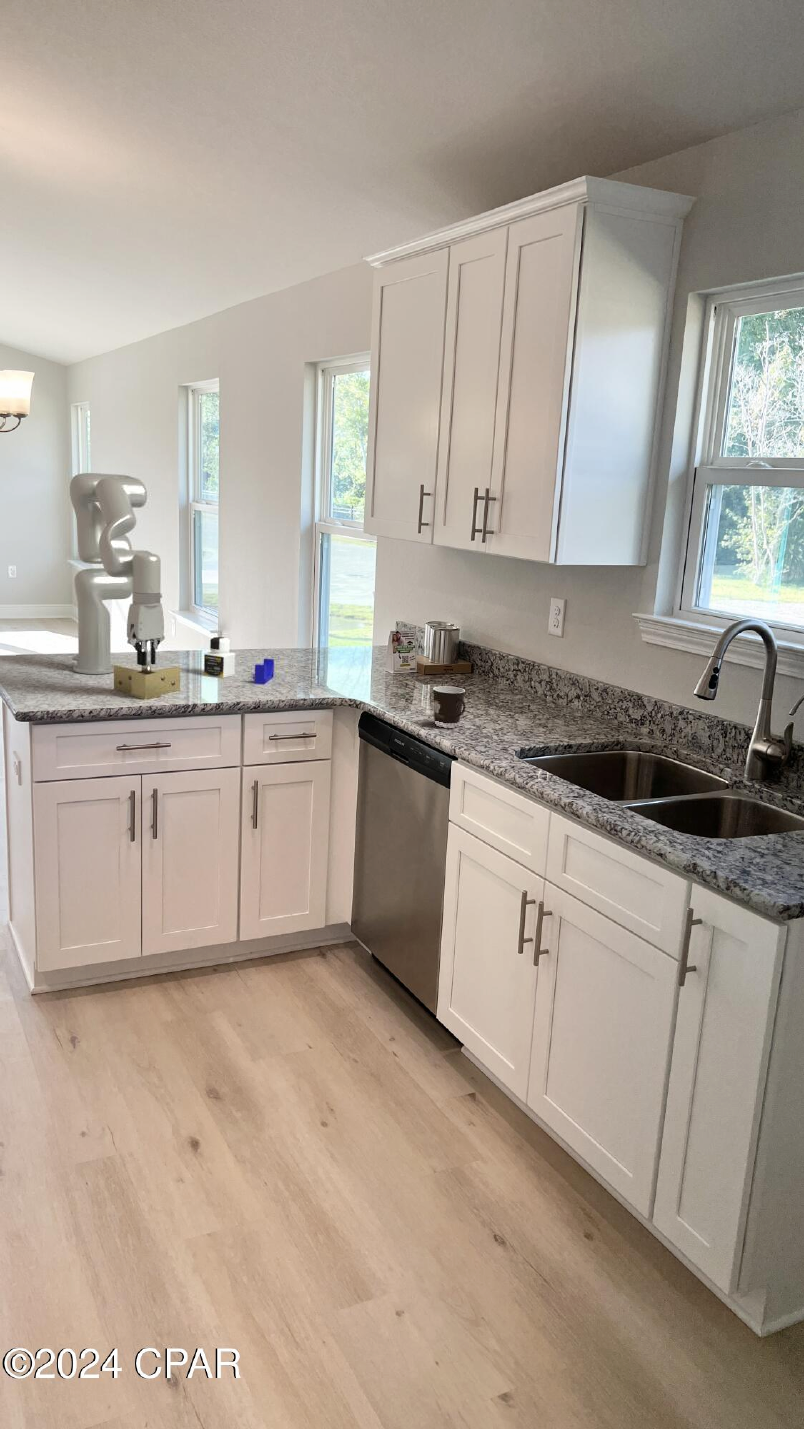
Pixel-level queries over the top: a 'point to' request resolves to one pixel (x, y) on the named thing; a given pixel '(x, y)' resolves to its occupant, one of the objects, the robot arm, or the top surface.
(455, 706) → the coffee mug
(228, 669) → the medicine bottle
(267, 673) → the cable clip
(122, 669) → the hinge
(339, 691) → the top surface
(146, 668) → the pin
